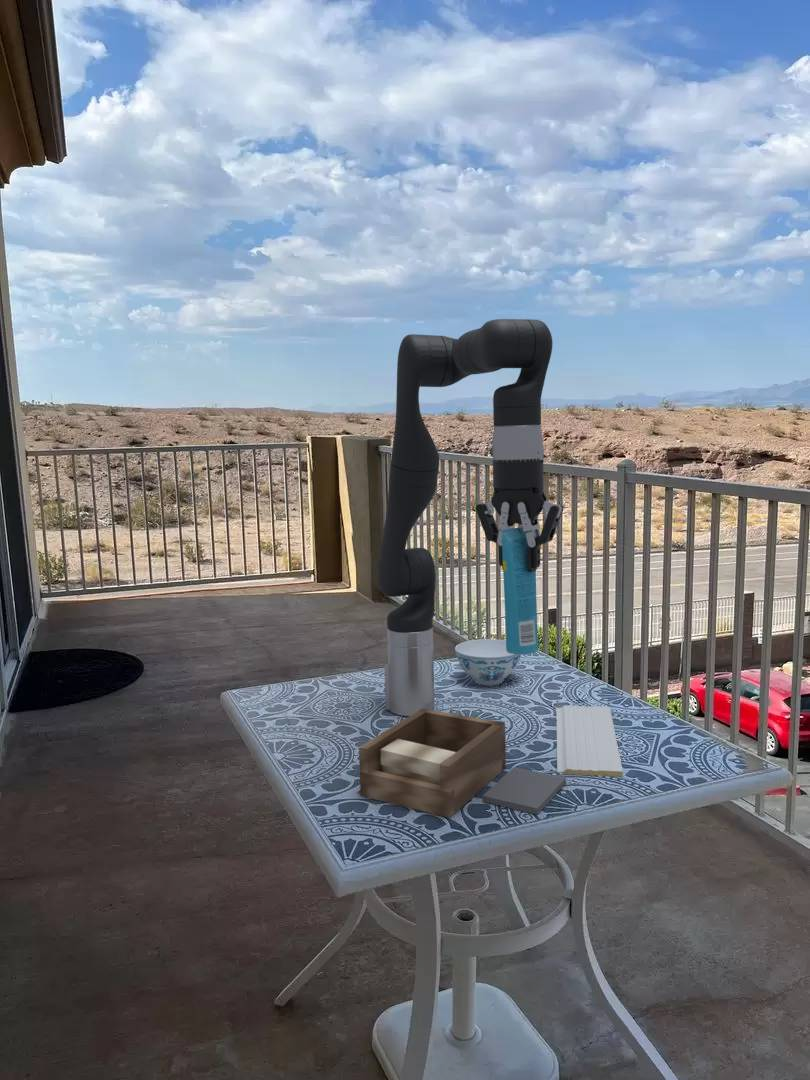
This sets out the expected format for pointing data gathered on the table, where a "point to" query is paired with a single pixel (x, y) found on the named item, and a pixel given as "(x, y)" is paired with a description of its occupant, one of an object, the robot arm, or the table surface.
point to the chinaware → (486, 660)
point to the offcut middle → (409, 775)
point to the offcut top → (414, 757)
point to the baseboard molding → (587, 741)
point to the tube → (519, 594)
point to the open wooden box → (458, 774)
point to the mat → (524, 790)
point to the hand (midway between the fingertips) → (519, 569)
